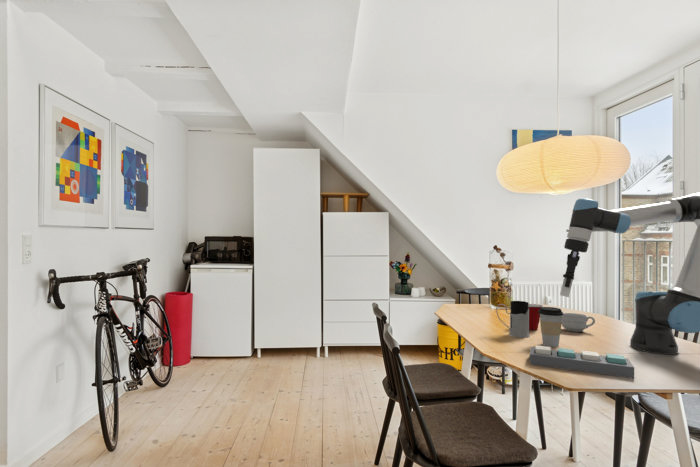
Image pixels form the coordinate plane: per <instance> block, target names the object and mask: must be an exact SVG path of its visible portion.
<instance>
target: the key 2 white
mask: <svg viewBox="0 0 700 467" xmlns="http://www.w3.org/2000/svg"><path fill="white" fill-rule="evenodd" d="M581 353H582V359H586V360H594V361H600V356H599V355H600V354H599V352H597V351H589V350H587V351H586V350H581Z"/></svg>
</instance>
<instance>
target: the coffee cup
mask: <svg viewBox="0 0 700 467" xmlns="http://www.w3.org/2000/svg"><path fill="white" fill-rule="evenodd" d="M538 313H539V314H540V320H539V324H540V325H539V326H540V332H541V337H542V339H541V340H542V346H546V347H551V348H557V347H558V348H559V347H560V337H561V331H562V315H564V314H563V313H564V312H563V311H562V308H559V307H555V306H554V307H552V306H543V307H541V308H540V310H538Z"/></svg>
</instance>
